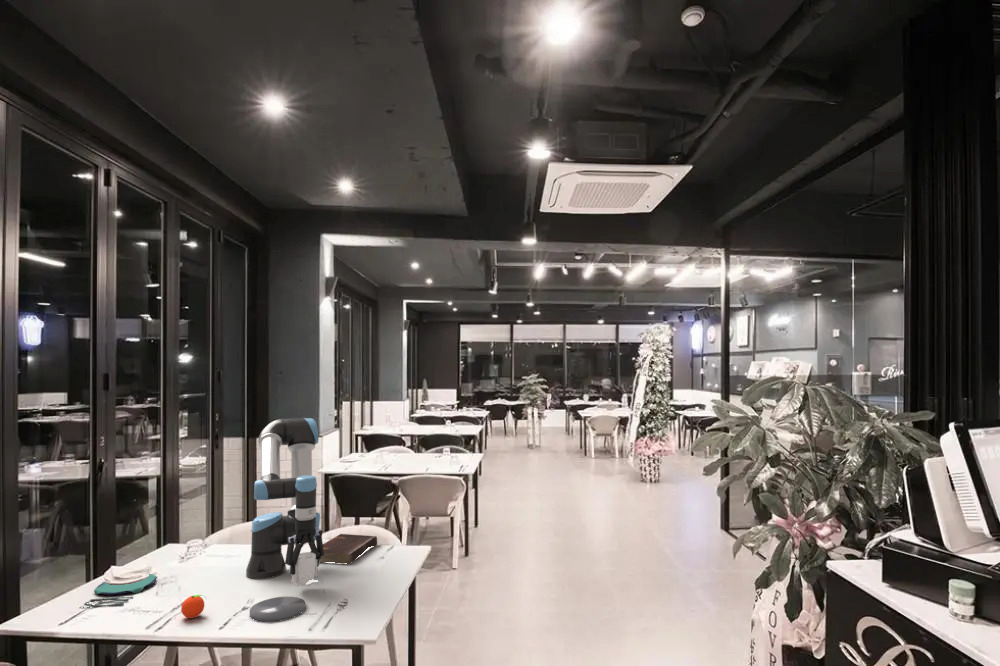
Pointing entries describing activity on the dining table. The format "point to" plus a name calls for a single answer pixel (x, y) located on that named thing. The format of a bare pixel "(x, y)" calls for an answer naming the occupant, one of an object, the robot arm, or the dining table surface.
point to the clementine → (192, 606)
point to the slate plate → (277, 609)
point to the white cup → (306, 567)
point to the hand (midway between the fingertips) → (304, 579)
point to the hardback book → (346, 548)
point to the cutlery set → (120, 590)
